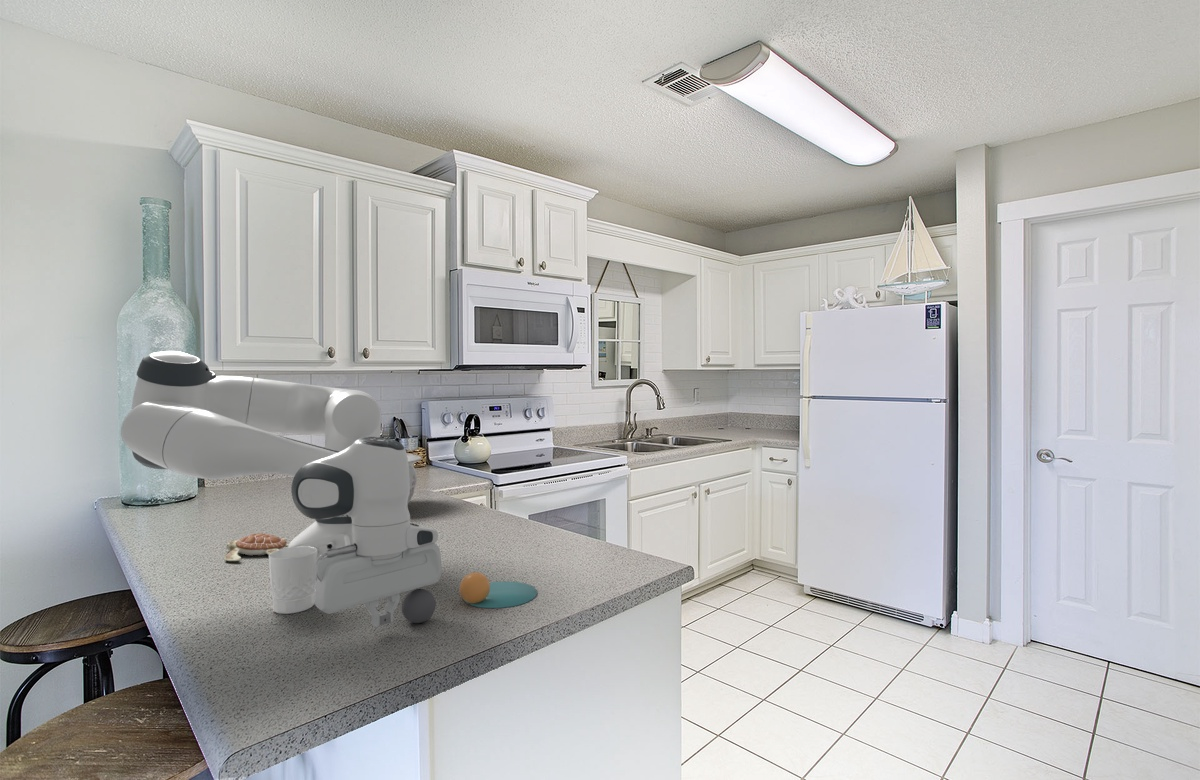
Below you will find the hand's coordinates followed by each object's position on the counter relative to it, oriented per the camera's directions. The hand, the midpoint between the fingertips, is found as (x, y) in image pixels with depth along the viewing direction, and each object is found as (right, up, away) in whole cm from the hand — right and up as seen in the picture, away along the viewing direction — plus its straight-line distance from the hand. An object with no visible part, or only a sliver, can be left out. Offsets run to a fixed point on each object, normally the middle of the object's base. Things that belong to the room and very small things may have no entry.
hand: (382, 624), depth 97 cm
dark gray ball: (+4, +1, +5) cm, 7 cm away
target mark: (+16, -1, +18) cm, 24 cm away
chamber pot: (-35, -1, +93) cm, 99 cm away
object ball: (+12, +1, +14) cm, 18 cm away
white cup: (-20, -2, +12) cm, 24 cm away
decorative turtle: (-47, -2, +48) cm, 67 cm away
